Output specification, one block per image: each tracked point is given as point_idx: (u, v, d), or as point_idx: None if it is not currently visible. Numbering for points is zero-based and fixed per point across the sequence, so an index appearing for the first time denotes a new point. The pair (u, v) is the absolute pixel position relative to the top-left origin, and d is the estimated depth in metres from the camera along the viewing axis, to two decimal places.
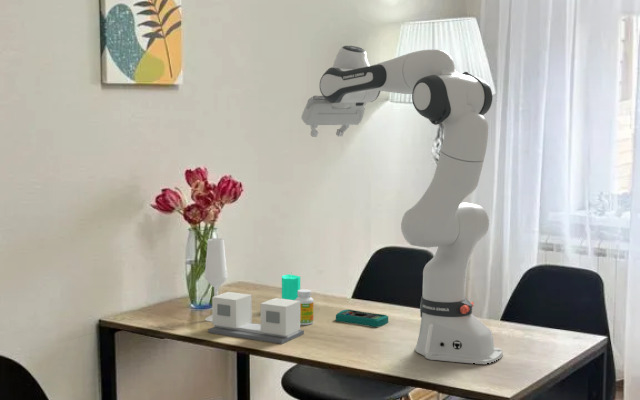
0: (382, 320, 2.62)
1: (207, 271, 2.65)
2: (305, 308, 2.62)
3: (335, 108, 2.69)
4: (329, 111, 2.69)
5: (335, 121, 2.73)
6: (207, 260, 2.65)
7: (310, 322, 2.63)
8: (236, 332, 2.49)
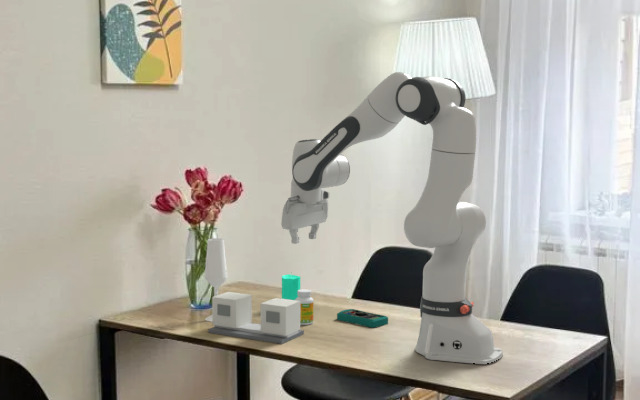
0: (379, 321, 2.61)
1: (207, 271, 2.65)
2: (305, 308, 2.62)
3: (309, 205, 2.60)
4: (304, 211, 2.60)
5: (310, 221, 2.63)
6: (207, 260, 2.65)
7: (310, 322, 2.63)
8: (236, 332, 2.49)
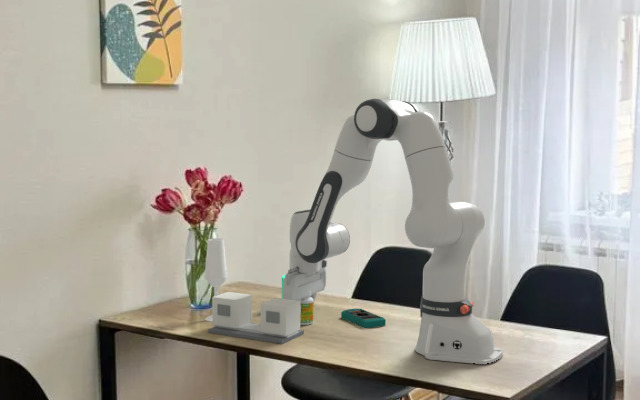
0: (373, 322, 2.60)
1: (207, 271, 2.65)
2: (305, 308, 2.62)
3: (309, 276, 2.60)
4: (304, 281, 2.60)
5: None
6: (208, 260, 2.65)
7: (310, 322, 2.63)
8: (236, 332, 2.49)
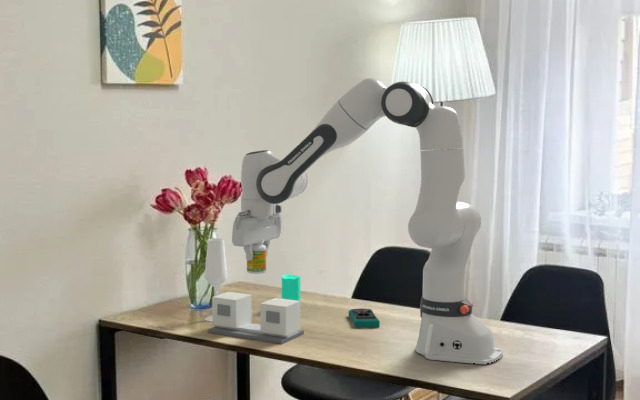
0: (364, 322, 2.60)
1: (207, 271, 2.65)
2: (257, 255, 2.48)
3: (261, 220, 2.47)
4: (256, 226, 2.46)
5: (263, 237, 2.49)
6: (207, 260, 2.65)
7: (262, 271, 2.49)
8: (236, 332, 2.49)
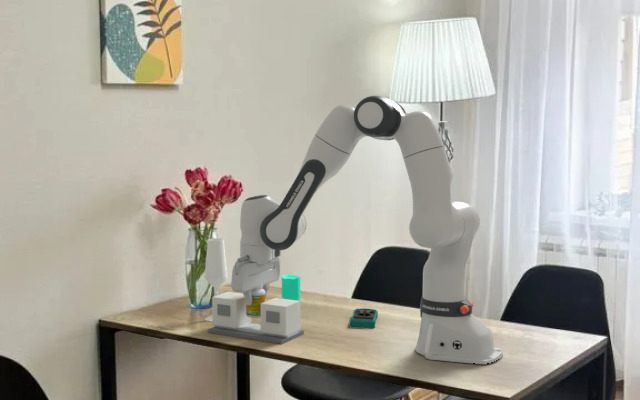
0: (359, 322, 2.60)
1: (207, 271, 2.65)
2: (256, 300, 2.49)
3: (260, 265, 2.48)
4: (255, 271, 2.48)
5: (262, 281, 2.50)
6: (208, 260, 2.65)
7: None
8: (236, 332, 2.49)
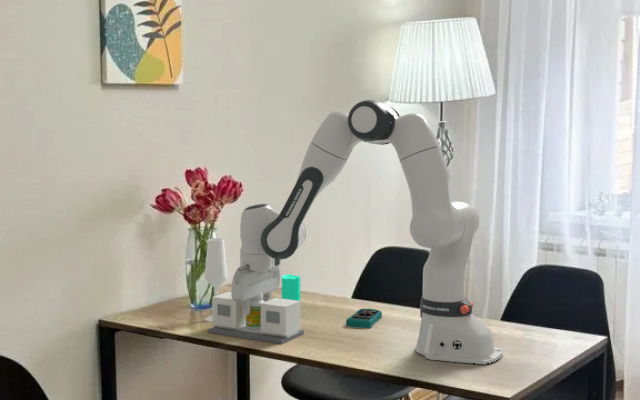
0: (355, 322, 2.60)
1: (207, 271, 2.65)
2: (256, 311, 2.49)
3: (260, 274, 2.48)
4: (255, 280, 2.48)
5: (262, 290, 2.51)
6: (208, 260, 2.65)
7: None
8: (236, 332, 2.49)
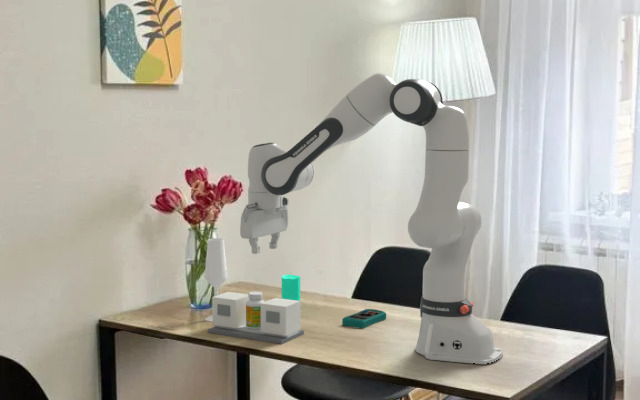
0: (350, 321, 2.61)
1: (207, 271, 2.65)
2: (256, 311, 2.49)
3: (268, 212, 2.47)
4: (263, 218, 2.46)
5: (270, 229, 2.49)
6: (208, 260, 2.65)
7: None
8: (236, 332, 2.49)
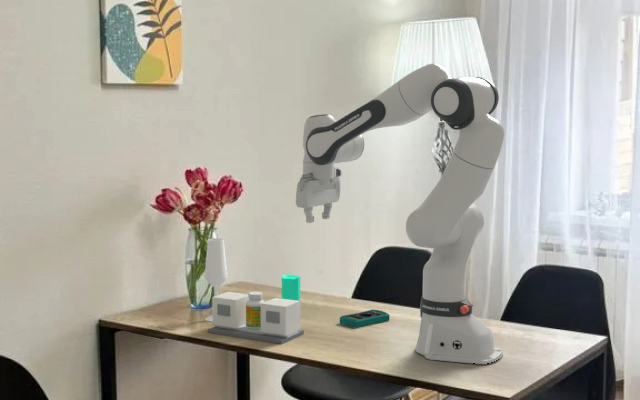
0: (345, 320, 2.62)
1: (207, 271, 2.65)
2: (256, 311, 2.49)
3: (323, 183, 2.52)
4: (318, 188, 2.52)
5: (324, 199, 2.55)
6: (208, 260, 2.65)
7: None
8: (236, 332, 2.49)
